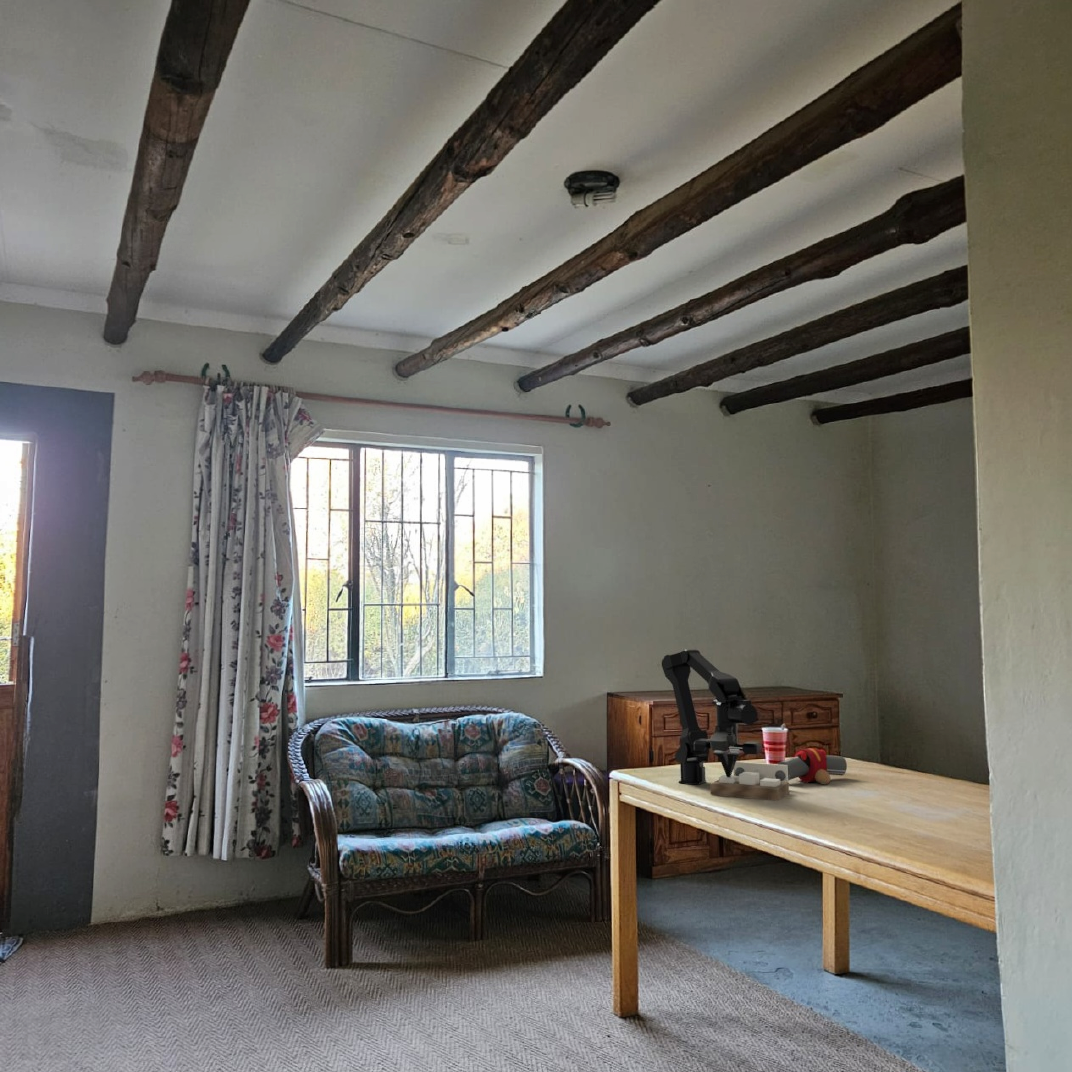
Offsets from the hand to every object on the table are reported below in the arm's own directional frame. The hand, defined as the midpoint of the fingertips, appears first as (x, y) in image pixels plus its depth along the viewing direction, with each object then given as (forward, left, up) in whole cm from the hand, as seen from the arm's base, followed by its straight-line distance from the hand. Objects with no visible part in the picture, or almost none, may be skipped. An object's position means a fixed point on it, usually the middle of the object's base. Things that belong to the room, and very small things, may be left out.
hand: (728, 777), depth 262 cm
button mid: (+6, 0, -3) cm, 7 cm away
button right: (+12, 0, -4) cm, 13 cm away
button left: (0, 0, -4) cm, 4 cm away
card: (+6, +10, -4) cm, 12 cm away
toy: (+16, +27, -4) cm, 32 cm away
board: (+6, 0, -4) cm, 7 cm away
